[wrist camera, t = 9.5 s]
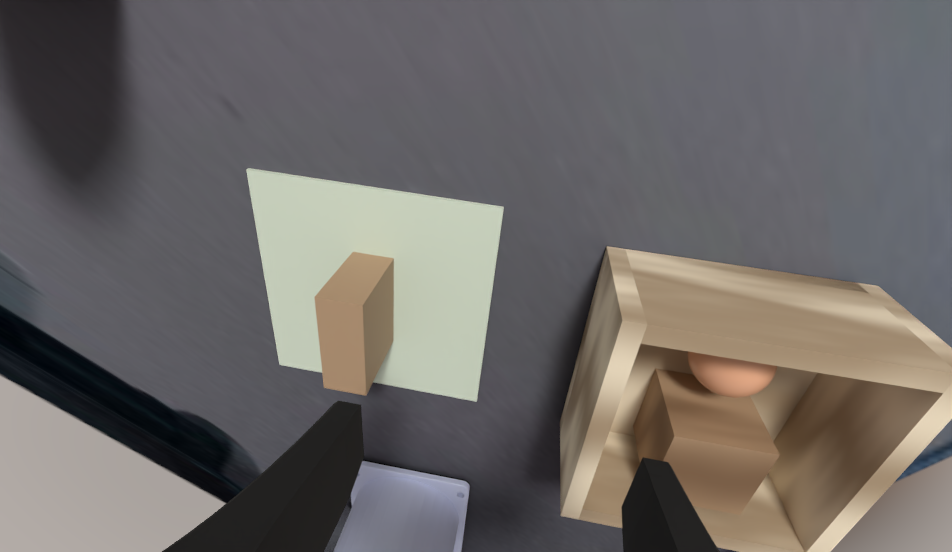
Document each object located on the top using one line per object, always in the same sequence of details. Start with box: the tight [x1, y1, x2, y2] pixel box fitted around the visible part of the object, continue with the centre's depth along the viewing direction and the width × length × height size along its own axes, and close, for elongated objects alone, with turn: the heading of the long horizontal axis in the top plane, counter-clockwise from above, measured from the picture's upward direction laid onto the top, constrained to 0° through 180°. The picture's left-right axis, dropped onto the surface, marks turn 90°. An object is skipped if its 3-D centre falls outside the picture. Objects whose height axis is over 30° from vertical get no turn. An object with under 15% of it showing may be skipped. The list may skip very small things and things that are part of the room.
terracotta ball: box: [688, 351, 777, 398], centre depth 18 cm, size 3×3×3 cm
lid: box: [246, 168, 504, 402], centre depth 21 cm, size 12×12×5 cm
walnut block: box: [633, 368, 780, 515], centre depth 20 cm, size 4×4×4 cm
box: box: [560, 246, 952, 552], centre depth 19 cm, size 11×11×6 cm
